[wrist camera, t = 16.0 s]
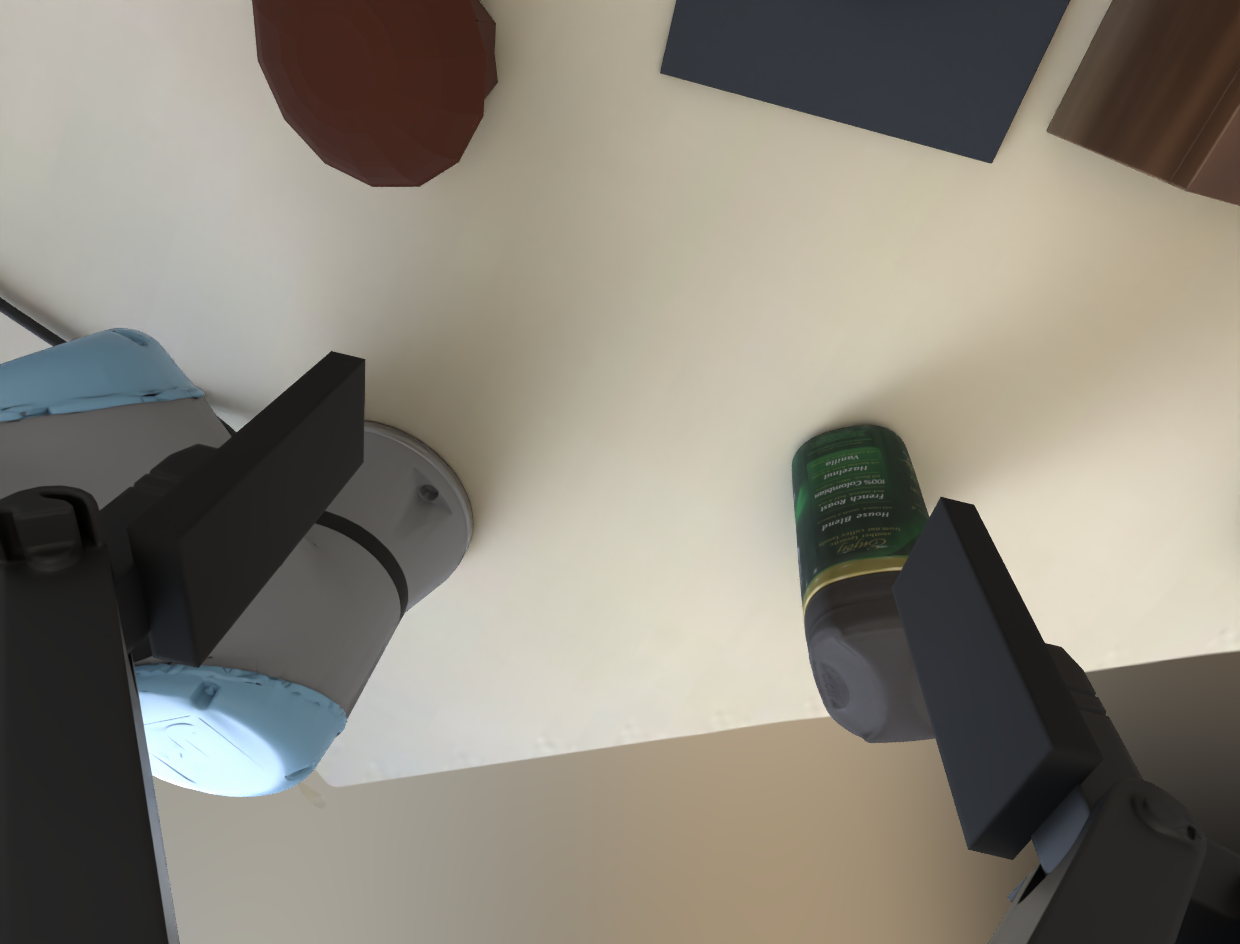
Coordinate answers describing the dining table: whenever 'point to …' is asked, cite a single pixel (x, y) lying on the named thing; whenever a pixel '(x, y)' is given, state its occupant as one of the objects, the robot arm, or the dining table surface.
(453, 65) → the muffin
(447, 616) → the dining table surface
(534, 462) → the dining table surface
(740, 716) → the dining table surface
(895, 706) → the coffee jar
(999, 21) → the felt mat
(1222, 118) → the wooden side table
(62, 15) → the dining table surface
